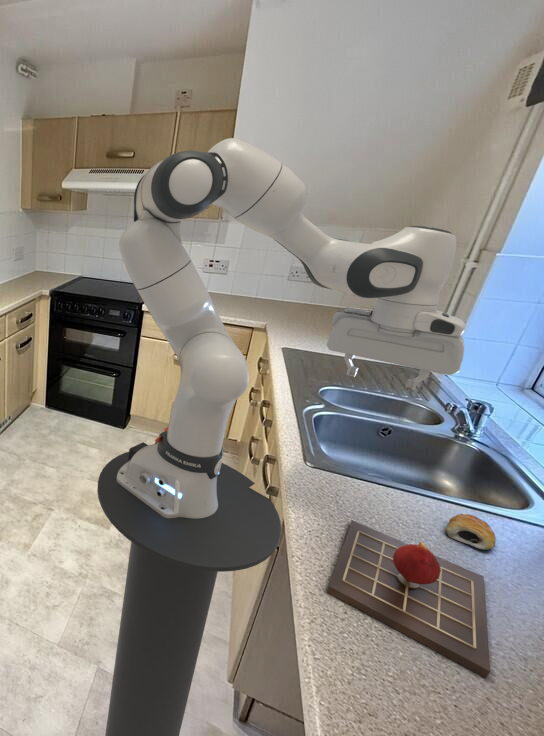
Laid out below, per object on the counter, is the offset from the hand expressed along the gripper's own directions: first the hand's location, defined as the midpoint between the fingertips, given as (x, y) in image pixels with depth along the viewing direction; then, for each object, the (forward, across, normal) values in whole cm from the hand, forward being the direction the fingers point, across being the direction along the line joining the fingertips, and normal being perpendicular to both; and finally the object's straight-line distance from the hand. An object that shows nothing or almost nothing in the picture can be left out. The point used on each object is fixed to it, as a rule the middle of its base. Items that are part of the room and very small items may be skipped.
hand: (379, 381), depth 83 cm
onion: (+28, +13, -19) cm, 36 cm away
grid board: (+29, +12, -19) cm, 37 cm away
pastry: (+29, +21, +6) cm, 36 cm away
